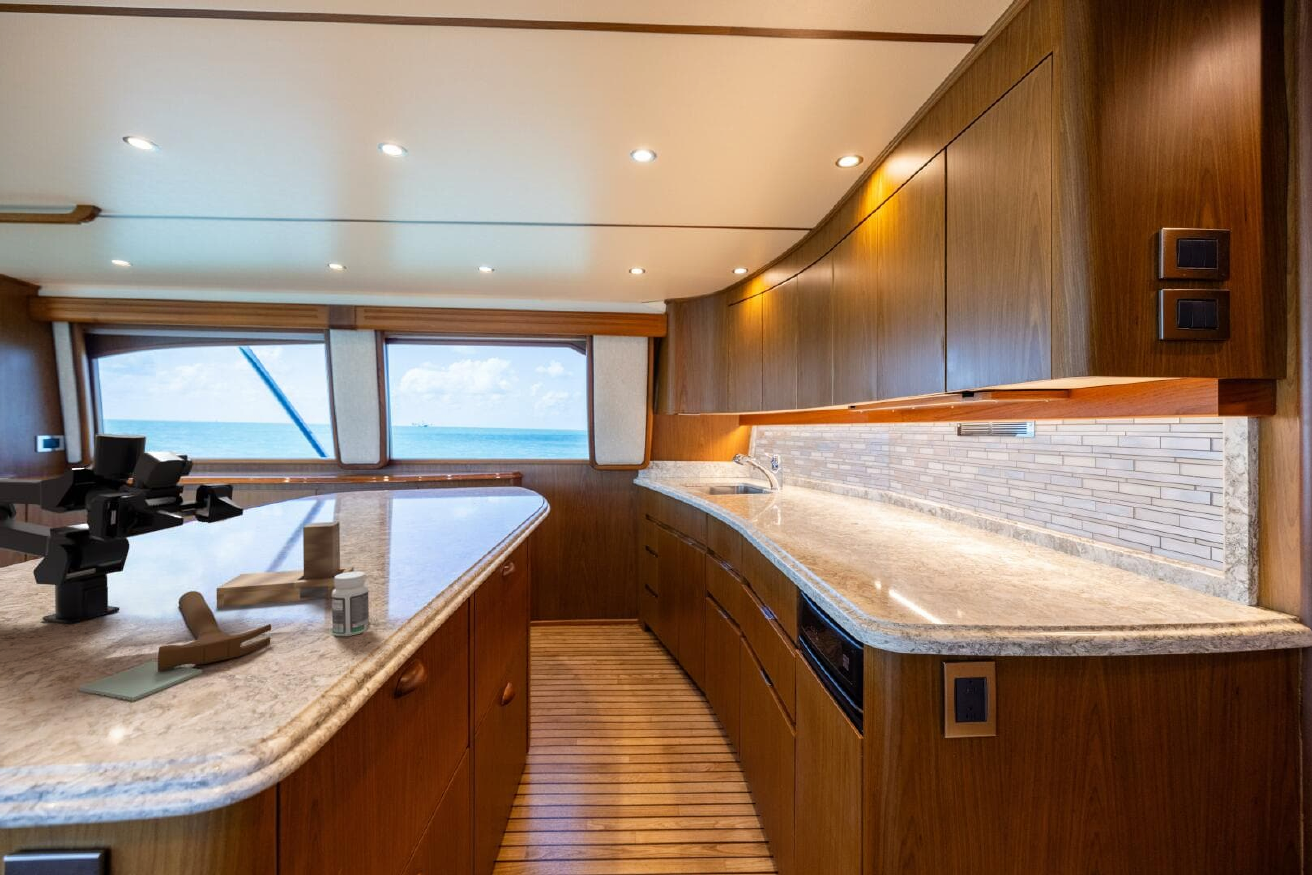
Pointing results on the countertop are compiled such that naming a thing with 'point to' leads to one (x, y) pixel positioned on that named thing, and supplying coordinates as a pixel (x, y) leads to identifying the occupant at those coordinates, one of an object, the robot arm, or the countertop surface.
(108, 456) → the robot arm
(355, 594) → the pill bottle
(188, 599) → the hammer
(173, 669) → the rubber mat
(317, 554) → the brown wooden block
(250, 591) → the slotted wooden slab
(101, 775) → the countertop surface
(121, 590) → the countertop surface
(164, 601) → the countertop surface
